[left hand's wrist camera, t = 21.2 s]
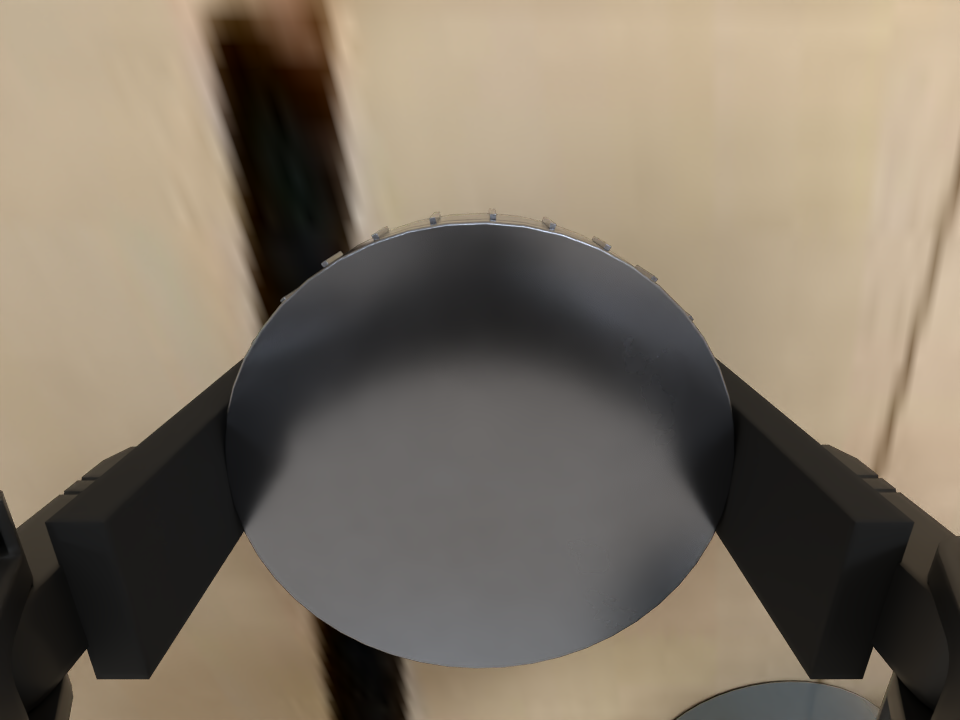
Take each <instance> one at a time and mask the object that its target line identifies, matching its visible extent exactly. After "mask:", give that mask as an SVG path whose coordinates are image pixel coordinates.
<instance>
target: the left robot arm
mask: <svg viewBox="0 0 960 720" xmlns="http://www.w3.org/2000/svg"><path fill="white" fill-rule="evenodd" d="M715 359H716V358H715ZM243 360H244V358H243V359H242V360H241V361H240V362H238V363H237V364H236V365H235V366H234V367H232V368H231V369H230V370H229V371H227V372H226V373H225V374H224V375H223V376H221V377H220V378H219V379H218V380H217V381H215V382H214V383H213V384H212V385H211V386H209V387H208V388H207V389H206V390H204V391H203V392H202V393H201V394H200V395H198V396H197V397H196V398H195V399H194V400H192V401H191V402H190V403H189V404H187V405H186V406H185V407H184V408H183V409H181V410H180V411H179V412H178V413H177V414H175V415H174V416H173V417H172V418H171V419H169V420H168V421H167V422H166V423H164V424H163V425H162V426H161V427H160V428H158V429H157V430H156V431H155V432H154V433H152V434H151V435H150V436H149V437H147V438H146V439H145V440H144V441H143V442H141V443H140V444H139V445H138V446H137V447H130V448H128V449H126V450H124V451H122V452H120V453H118V454H115V455H113V456H111V457H109V458H107V459H105V460H103V461H102V462H101V463H99V464H98V465H97V466H95V467H94V468H93V469H92V470H90V471H89V472H88V473H87V474H85V475H84V476H83V477H82V480H81V481H76V482H75V483H74V484H73V485H71V486H70V487H69V488H68V489H66V490H65V491H64V495H59V496H57V497H56V498H55V499H54V500H52V501H51V502H50V503H49V504H47V505H46V506H45V507H43V508H42V509H41V510H40V511H38V512H37V513H36V514H35V515H33V516H32V517H31V518H30V519H28V520H27V521H26V522H24V523H23V524H22V525H21V526H19V527H18V528H17V529H16V528H15V525H14V522H13V519H12V517H11V514H10V511H9V508H8V505H7V503H6V500H5V497H4V494H3V491H1V490H0V720H69V717H70V712H71V706H72V700H73V692H72V685H71V682H70V679H69V676H68V674H67V672H68V671H69V670H70V669H71V668H72V666H73V665H74V664H75V663H76V661H77V660H78V659H79V658H80V656H81V655H82V654H83V653H84V651H85V650H86V649H87V651H88V654H89V657H90V660H91V663H92V666H93V669H94V672H95V675H96V678H97V679H149V678H150V677H151V675H152V674H153V672H154V671H155V669H156V668H157V666H158V664H159V663H160V661H161V660H162V658H163V657H164V655H165V654H166V652H167V650H168V649H169V647H170V646H171V644H172V643H173V641H174V639H175V638H176V636H177V635H178V633H179V632H180V630H181V629H182V627H183V625H184V624H185V622H186V621H187V619H188V618H189V616H190V615H191V613H192V611H193V610H194V608H195V607H196V605H197V604H198V602H199V601H200V599H201V597H202V596H203V594H204V593H205V591H206V590H207V588H208V587H209V585H210V583H211V582H212V580H213V579H214V577H215V576H216V574H217V572H218V571H219V569H220V568H221V566H222V565H223V563H224V562H225V560H226V558H227V557H228V555H229V554H230V552H231V551H232V549H233V548H234V546H235V544H236V543H237V541H238V540H239V538H240V537H241V535H242V534H243V532H244V530H243V527H242V525H241V522H240V520H239V517H238V515H237V512H236V510H235V507H234V504H233V500H232V496H231V492H230V487H229V482H228V477H227V471H226V461H225V450H224V444H225V428H226V416H227V411H228V407H229V402H230V398H231V393H232V388H233V385H234V383H235V380H236V378H237V375H238V372H239V370H240V367H241V365H242V362H243ZM716 361H717V363H718V365H719V367H720V370H721V373H722V376H723V379H724V382H725V385H726V388H727V391H728V394H729V397H730V403H731V409H732V414H733V420H734V426H735V461H734V468H733V474H732V480H731V486H730V490H729V495H728V499H727V502H726V506H725V509H724V513H723V515H722V517H721V519H720V522H719V524H718V526H717V528H716V533H717V534H718V536H719V537H720V539H721V541H722V542H723V544H724V545H725V547H726V548H727V550H728V551H729V553H730V555H731V556H732V558H733V559H734V561H735V562H736V564H737V565H738V567H739V569H740V570H741V572H742V573H743V575H744V576H745V578H746V580H747V581H748V583H749V584H750V586H751V587H752V589H753V590H754V592H755V594H756V595H757V597H758V598H759V600H760V601H761V603H762V604H763V606H764V608H765V609H766V611H767V612H768V614H769V615H770V617H771V618H772V620H773V622H774V623H775V625H776V626H777V628H778V629H779V631H780V632H781V634H782V636H783V637H784V639H785V640H786V642H787V643H788V645H789V647H790V648H791V650H792V651H793V653H794V654H795V656H796V657H797V659H798V661H799V662H800V664H801V665H802V667H803V668H804V670H805V671H806V673H807V675H808V676H809V678H810V679H863V676H864V673H865V670H866V667H867V664H868V661H869V658H870V655H871V652H872V649H873V647H874V648H875V649H876V650H877V652H878V653H879V654H880V655H881V656H882V658H883V659H884V660H885V661H886V663H887V664H888V665H889V666H890V667H891V669H892V670H893V674H892V676H891V679H890V682H889V685H888V688H887V690H886V693H885V696H884V699H883V702H882V704H881V707H880V710H879V713H878V716H877V718H876V720H960V536H955V535H954V534H953V533H951V532H950V531H949V530H948V529H946V528H945V527H944V526H943V525H941V524H940V523H939V522H937V521H936V520H935V519H934V518H932V517H931V516H930V515H928V514H927V513H926V512H925V511H923V510H922V509H921V508H920V507H918V506H917V505H916V504H914V503H913V502H912V501H911V500H909V499H908V498H907V497H905V496H904V495H903V494H902V493H897V492H896V489H895V488H894V487H893V486H891V485H890V484H889V483H888V482H886V481H885V480H884V479H882V478H878V475H877V474H876V473H875V472H874V471H872V470H871V469H870V468H868V467H867V466H866V465H865V464H863V463H862V462H861V461H859V460H858V459H857V458H855V457H853V456H851V455H849V454H846V453H844V452H842V451H840V450H838V449H836V448H834V447H832V446H830V445H820V444H819V443H818V442H817V441H816V440H814V439H813V438H812V437H811V436H810V435H808V434H807V433H806V432H805V431H803V430H802V429H801V428H800V427H799V426H797V425H796V424H795V423H794V422H793V421H791V420H790V419H789V418H788V417H787V416H785V415H784V414H783V413H782V412H780V411H779V410H778V409H777V408H776V407H774V406H773V405H772V404H771V403H770V402H768V401H767V400H766V399H765V398H763V397H762V396H761V395H760V394H759V393H757V392H756V391H755V390H754V389H753V388H751V387H750V386H749V385H748V384H747V383H745V382H744V381H743V380H742V379H740V378H739V377H738V376H737V375H736V374H734V373H733V372H732V371H731V370H730V369H728V368H727V367H726V366H725V365H723V364H722V363H721V362H720V361H719V360H717V359H716Z"/></svg>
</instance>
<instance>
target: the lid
mask: <svg viewBox="0 0 960 720" xmlns="http://www.w3.org/2000/svg"><path fill="white" fill-rule="evenodd" d="M610 248H611V246H610V245H608V244H607V243H605V242H604V241H602V240H600V239H599V238H597V237H595V236H594V237H593V238H592V240H590V239H588V238H587V237H585V236H583V235H581V234H578V233H575V232H573V231H570V230H567V229H565V228H562V227H559V226H557V225H556V224H555V223H554V222H553V221H552V220H550V219H549V218H547V217H543V220H542V221H538V220H534V219H529V218H525V217H521V216H512V215H501V214H496V212H495V209H489V213H476V214H455V215H447V216H441V217H440V212H435V213H434V214H433V215H432V216H431V217H430V218H429V219H425V220H419V221H416V222H413V223H410V224H407V225H404V226H401V227H398V228H395V229H392V230H389V229H388V227H387V226H386V227H384V228H382V229H380V230H379V231H377V232H376V233H374V234H373V235H372V239H370V240H368V241H366V242H364V243H361V244H359V245H357V246H356V247H354V248H353V249H351V250H350V251H348V252H347V253H345V254H344V255H343V254H342V252H341V251H340V252H338V253H336V254H335V255H333V256H332V257H330V258H328V259H327V260H325V261H324V262H322V263H321V265H322V266H323V267H324V268H323V269H322V270H320V271H319V272H317V273H316V274H315V275H313V276H312V277H310V278H309V279H307V280H306V281H305V282H304V283H303V284H302V285H301V286H299V287H298V288H296V289H295V290H293V291H292V292H290V293H289V294H287V295H286V296H284V297H283V298H282V299H281V302H282V304H281V305H280V306H279V307H278V308H277V310H276V311H275V312H274V313H273V315H272V316H271V317H270V318H269V320H268V321H267V322H266V323H265V325H264V326H263V327H262V328H261V330H260V331H259V333H258V335H257V337H256V338H255V339H254V340H253V342H252V344H251V347H250V349H249V350H248V352H247V354H246V356H245V357H244V360H243V362H242V365H241V367H240V370H239V372H238V375H237V378H236V380H235V383H234V385H233V388H232V393H231V398H230V402H229V407H228V411H227V416H226V428H225V444H224V450H225V461H226V471H227V477H228V482H229V487H230V492H231V496H232V500H233V504H234V507H235V510H236V512H237V515H238V517H239V520H240V522H241V525H242V527H243V530H244V532H245V534H246V536H247V537H248V539H249V541H250V543H251V544H252V546H253V548H254V550H255V551H256V553H257V555H258V557H259V558H260V559H261V561H262V562H263V563H264V565H265V566H266V567H267V569H268V570H269V571H270V573H271V574H272V575H273V577H274V578H275V579H276V580H277V581H278V582H279V583H280V584H281V585H282V586H283V587H284V588H285V589H286V590H287V591H288V593H289V594H290V595H291V596H292V597H293V598H294V599H295V600H297V601H298V602H299V603H300V604H302V605H303V606H304V607H305V608H306V609H308V610H309V611H310V612H311V613H313V614H314V615H315V616H316V617H318V618H319V619H321V620H322V621H324V622H325V623H327V624H329V625H330V626H332V627H333V628H335V629H336V630H338V631H339V632H341V633H343V634H345V635H347V636H349V637H351V638H353V639H355V640H357V641H359V642H361V643H363V644H365V645H368V646H370V647H373V648H376V649H378V650H381V651H384V652H386V653H389V654H391V655H395V656H399V657H403V658H406V659H410V660H414V661H418V662H423V663H429V664H435V665H441V666H447V667H463V668H500V667H510V666H518V665H526V664H533V663H537V662H541V661H546V660H550V659H554V658H558V657H562V656H565V655H568V654H570V653H573V652H576V651H579V650H582V649H585V648H588V647H590V646H592V645H594V644H596V643H598V642H601V641H603V640H605V639H607V638H609V637H611V636H613V635H615V634H617V633H618V632H620V631H622V630H623V629H625V628H627V627H628V626H630V625H632V624H633V623H635V622H637V621H638V620H639V619H641V618H642V617H643V616H644V615H646V614H647V613H648V612H650V611H651V610H652V609H654V608H655V607H656V606H658V605H659V604H660V603H661V602H662V601H663V600H664V599H665V598H666V597H667V596H668V595H669V594H670V593H671V592H672V591H673V590H674V589H675V588H677V587H678V586H679V585H680V583H681V582H682V581H683V580H684V578H685V577H686V576H687V575H688V573H689V572H690V571H691V570H692V569H693V567H694V566H695V565H696V564H697V562H698V560H699V559H700V557H701V556H702V554H703V552H704V551H705V549H706V548H707V546H708V544H709V543H710V541H711V539H712V537H713V535H714V533H715V531H716V528H717V526H718V524H719V522H720V519H721V517H722V515H723V513H724V509H725V506H726V502H727V499H728V495H729V490H730V486H731V480H732V474H733V468H734V461H735V426H734V420H733V414H732V409H731V403H730V397H729V394H728V391H727V388H726V385H725V382H724V379H723V376H722V373H721V370H720V367H719V365H718V363H717V361H716V359H715V357H714V355H713V353H712V351H711V350H710V348H709V346H708V344H707V342H706V340H705V338H704V337H703V335H702V334H701V332H700V331H699V330H698V328H697V327H696V326H695V324H694V323H693V322H692V320H694V319H693V318H692V316H691V315H690V314H688V313H687V312H685V311H684V310H683V309H682V308H681V307H680V306H679V305H678V304H677V303H676V302H675V301H674V300H673V299H672V298H671V297H670V296H669V295H668V294H667V293H666V292H665V291H664V290H663V289H662V288H661V287H660V286H659V285H658V284H657V283H655V282H656V281H657V280H658V279H657V278H656V277H655V276H654V275H652V274H651V273H649V272H648V271H646V270H644V269H643V268H641V267H640V266H638V265H636V267H634V266H633V265H631V264H630V263H628V262H627V261H625V260H624V259H622V258H621V257H619V256H618V255H616V254H615V253H613V252H612V251H610Z"/></svg>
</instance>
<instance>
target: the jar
mask: <svg viewBox="0 0 960 720" xmlns="http://www.w3.org/2000/svg"><path fill="white" fill-rule="evenodd" d="M879 710H880V709H879V708H878V707H876V706H875V705H874V704H872V703H871V702H870V701H868V700H866V699H865V698H863V697H861V696H859V695H857V694H855V693H853V692H850V691H847V690H845V689H842V688H839V687H835V686H831V685H826V684H821V683H813V682H798V681H785V682H771V683H764V684H758V685H752V686H748V687H744V688H740V689H736V690H733V691H730V692H727V693H724V694H721V695H719V696H716V697H714V698H712V699H709V700H707V701H705V702H703V703H701V704H699V705H697V706H696V707H694V708H692V709H690V710H689V711H687V712H685V713H684V714H683V715H681V716H680V717H679V718H677V719H676V720H876V718H877V716H878V713H879Z"/></svg>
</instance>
